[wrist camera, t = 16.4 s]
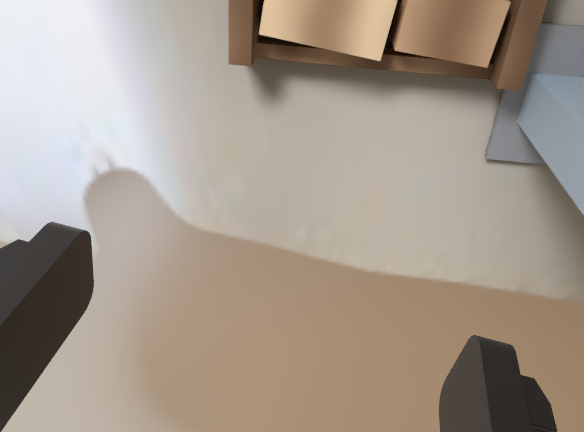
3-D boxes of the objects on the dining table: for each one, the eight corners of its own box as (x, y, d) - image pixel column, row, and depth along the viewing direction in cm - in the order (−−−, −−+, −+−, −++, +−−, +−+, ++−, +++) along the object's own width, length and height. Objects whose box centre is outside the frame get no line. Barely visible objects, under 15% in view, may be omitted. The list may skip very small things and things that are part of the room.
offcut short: (390, 35, 37) (394, 50, 34) (405, -26, 35) (411, -17, 31) (474, 51, 37) (487, 67, 34) (495, -10, 35) (510, 1, 32)
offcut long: (267, 20, 37) (258, 34, 34) (276, -41, 35) (269, -33, 32) (377, 45, 37) (380, 61, 34) (394, -14, 35) (398, -4, 32)
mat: (523, 20, 36) (525, 22, 35) (675, 34, 35) (680, 36, 35) (484, 155, 41) (486, 159, 40) (616, 168, 40) (620, 172, 40)
